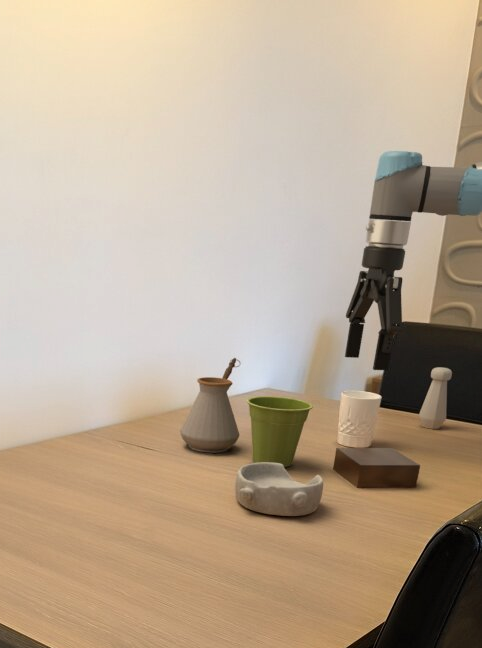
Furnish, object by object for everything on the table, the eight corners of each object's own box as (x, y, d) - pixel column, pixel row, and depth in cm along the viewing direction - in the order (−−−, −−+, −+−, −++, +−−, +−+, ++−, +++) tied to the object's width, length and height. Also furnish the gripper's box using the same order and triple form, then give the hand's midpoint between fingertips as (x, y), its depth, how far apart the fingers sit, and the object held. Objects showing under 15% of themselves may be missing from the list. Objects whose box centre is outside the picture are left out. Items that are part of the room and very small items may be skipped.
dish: (250, 485, 140) (254, 456, 138) (330, 501, 134) (335, 471, 132) (217, 508, 128) (220, 477, 126) (303, 527, 122) (307, 494, 120)
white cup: (366, 451, 164) (375, 400, 160) (328, 444, 168) (336, 394, 163) (377, 443, 171) (386, 394, 166) (340, 436, 174) (348, 388, 170)
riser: (388, 468, 154) (392, 447, 152) (416, 487, 144) (420, 465, 142) (332, 469, 152) (336, 447, 150) (356, 487, 142) (360, 465, 140)
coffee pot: (229, 458, 154) (237, 377, 147) (171, 450, 157) (176, 369, 151) (255, 434, 172) (263, 360, 166) (202, 426, 175) (208, 354, 169)
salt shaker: (412, 425, 187) (423, 366, 181) (425, 422, 191) (437, 364, 185) (435, 431, 183) (447, 371, 178) (448, 428, 187) (461, 369, 181)
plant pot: (318, 468, 151) (327, 407, 146) (267, 476, 145) (275, 412, 140) (276, 452, 160) (283, 393, 155) (227, 458, 154) (233, 397, 149)
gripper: (340, 241, 163) (324, 351, 173) (396, 249, 141) (374, 375, 151) (375, 243, 165) (357, 353, 174) (436, 251, 143) (412, 376, 152)
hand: (365, 363), depth 162 cm, fingers open, 13 cm apart
